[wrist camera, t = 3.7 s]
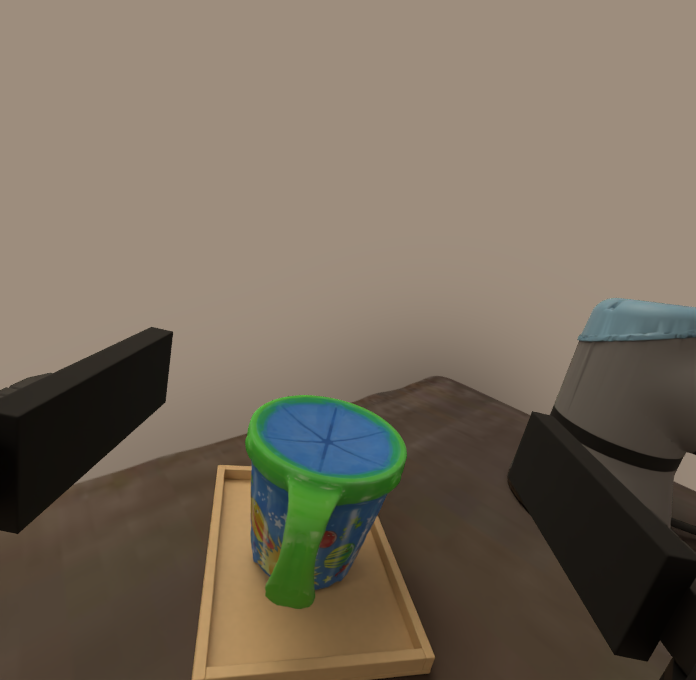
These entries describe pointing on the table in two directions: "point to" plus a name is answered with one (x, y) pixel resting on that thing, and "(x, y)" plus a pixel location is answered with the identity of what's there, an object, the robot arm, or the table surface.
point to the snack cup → (316, 490)
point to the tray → (300, 610)
